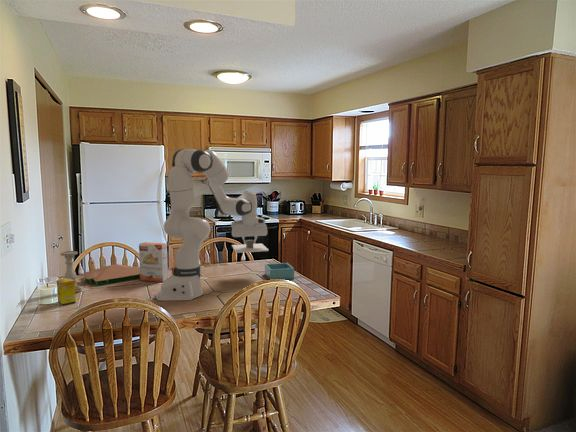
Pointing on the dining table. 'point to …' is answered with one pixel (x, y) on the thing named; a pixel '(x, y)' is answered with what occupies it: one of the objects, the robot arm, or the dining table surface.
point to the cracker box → (153, 261)
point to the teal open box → (279, 271)
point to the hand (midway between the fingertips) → (249, 244)
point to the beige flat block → (111, 273)
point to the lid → (249, 247)
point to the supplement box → (66, 291)
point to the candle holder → (70, 267)
